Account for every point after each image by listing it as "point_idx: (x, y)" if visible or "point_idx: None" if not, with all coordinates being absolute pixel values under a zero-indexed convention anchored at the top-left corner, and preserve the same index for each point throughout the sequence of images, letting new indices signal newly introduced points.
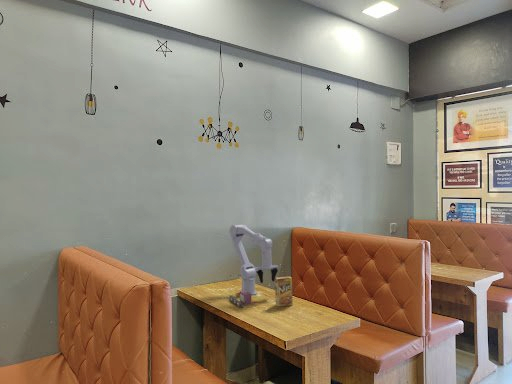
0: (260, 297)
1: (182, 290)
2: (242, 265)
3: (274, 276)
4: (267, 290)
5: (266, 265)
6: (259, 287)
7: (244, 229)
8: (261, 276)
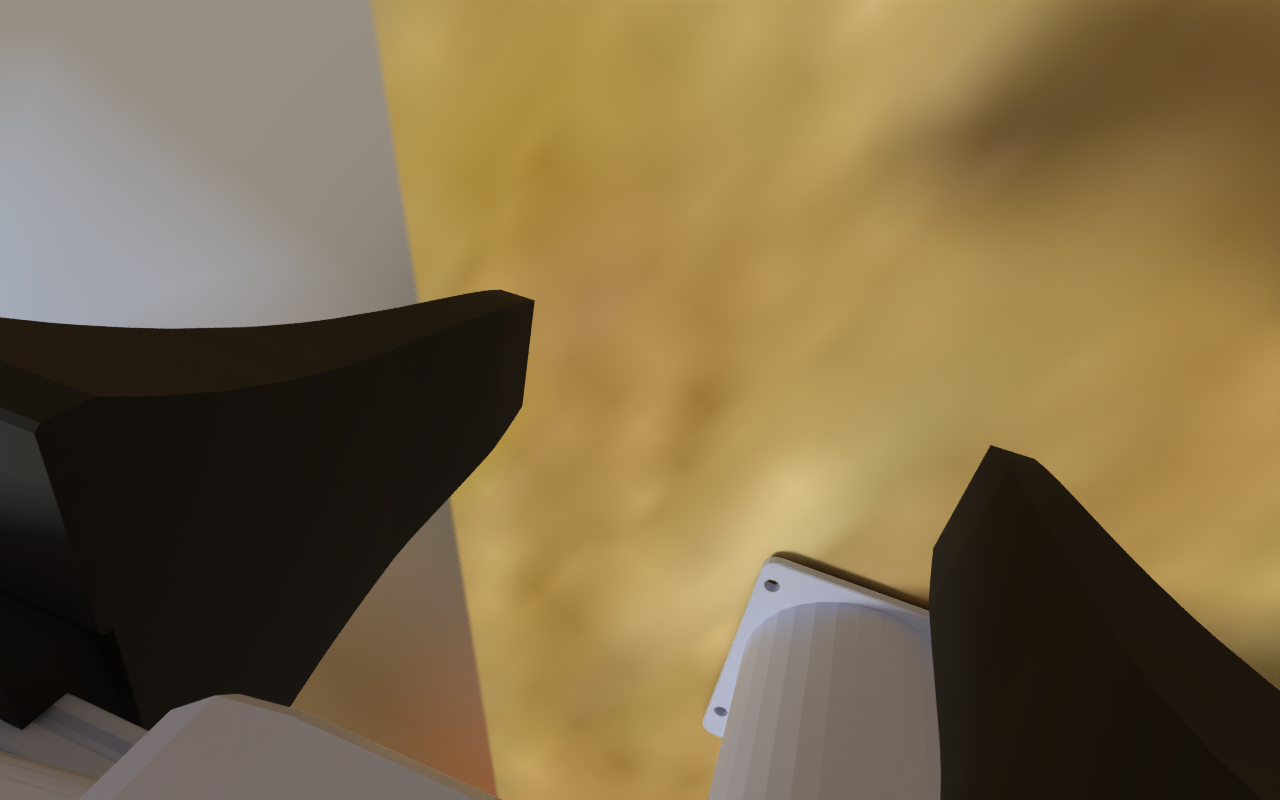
0: (898, 376)
1: None
2: None
3: (386, 330)
4: (515, 556)
5: None
6: (524, 713)
7: None
8: (1220, 668)
